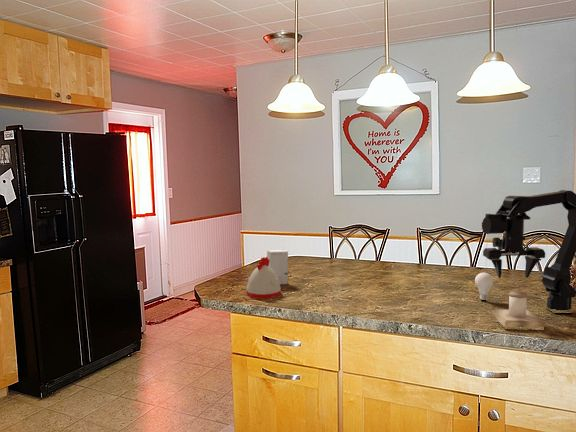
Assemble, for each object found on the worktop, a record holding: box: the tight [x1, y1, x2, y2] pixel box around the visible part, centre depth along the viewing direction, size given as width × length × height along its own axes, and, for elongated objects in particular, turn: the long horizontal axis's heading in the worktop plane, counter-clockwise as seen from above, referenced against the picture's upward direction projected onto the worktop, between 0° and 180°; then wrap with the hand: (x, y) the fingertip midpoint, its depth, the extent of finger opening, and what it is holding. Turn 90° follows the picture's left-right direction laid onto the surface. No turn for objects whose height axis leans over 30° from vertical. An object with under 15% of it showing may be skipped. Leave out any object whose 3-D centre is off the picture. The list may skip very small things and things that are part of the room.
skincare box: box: [266, 249, 289, 286], centre depth 206 cm, size 8×6×15 cm
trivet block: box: [490, 309, 546, 328], centre depth 151 cm, size 12×12×3 cm
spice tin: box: [508, 290, 528, 317], centre depth 150 cm, size 5×5×7 cm
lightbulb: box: [474, 272, 494, 301], centre depth 177 cm, size 6×6×11 cm
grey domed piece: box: [246, 256, 282, 299], centre depth 190 cm, size 14×14×15 cm
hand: (512, 277), depth 160 cm, fingers open, 9 cm apart
